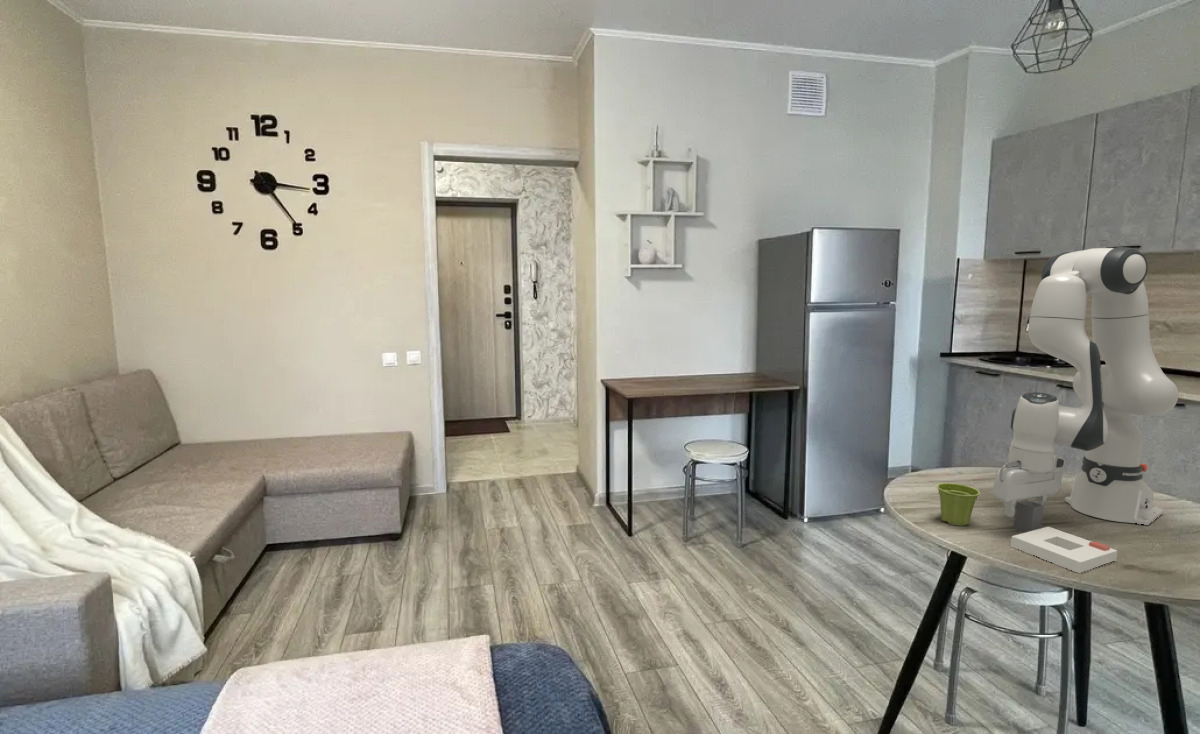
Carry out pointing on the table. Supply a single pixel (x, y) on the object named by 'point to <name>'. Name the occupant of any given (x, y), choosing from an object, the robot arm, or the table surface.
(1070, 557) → the socket plate
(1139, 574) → the table surface
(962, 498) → the plant pot
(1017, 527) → the plug
